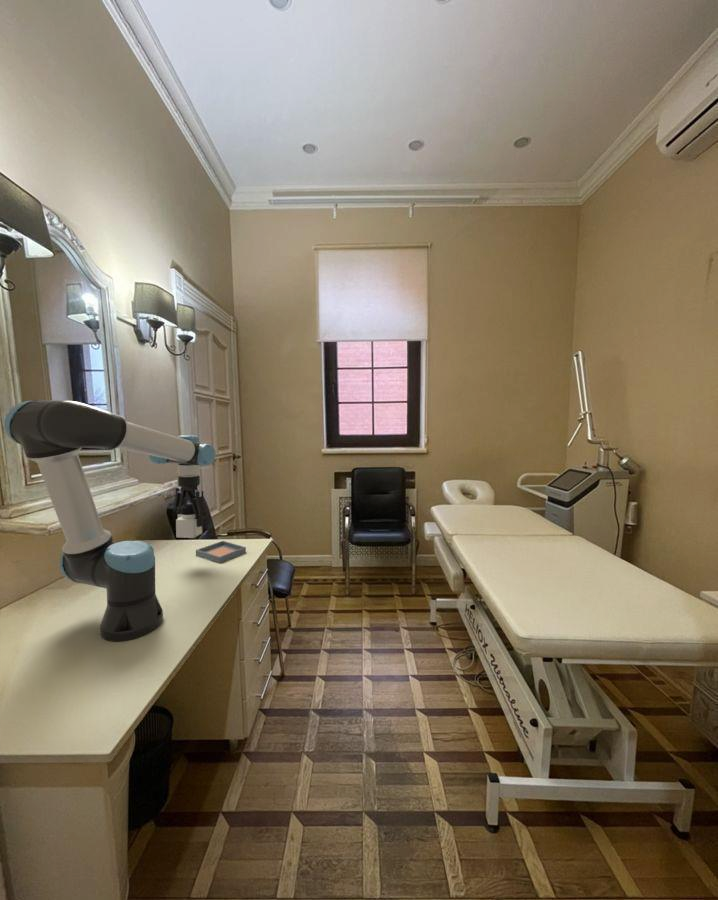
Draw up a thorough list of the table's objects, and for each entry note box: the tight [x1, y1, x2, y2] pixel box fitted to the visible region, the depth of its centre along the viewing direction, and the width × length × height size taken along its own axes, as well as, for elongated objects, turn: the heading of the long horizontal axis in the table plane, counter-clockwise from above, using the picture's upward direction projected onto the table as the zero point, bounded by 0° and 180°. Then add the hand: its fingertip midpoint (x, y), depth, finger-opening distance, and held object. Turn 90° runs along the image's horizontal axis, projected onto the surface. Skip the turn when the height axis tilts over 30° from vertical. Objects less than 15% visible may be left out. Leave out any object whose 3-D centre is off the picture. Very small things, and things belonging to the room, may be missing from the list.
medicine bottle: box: [175, 503, 204, 539], centre depth 140 cm, size 7×7×12 cm
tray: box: [195, 540, 247, 564], centre depth 156 cm, size 14×15×2 cm
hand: (189, 532), depth 140 cm, fingers closed on medicine bottle, 9 cm apart
